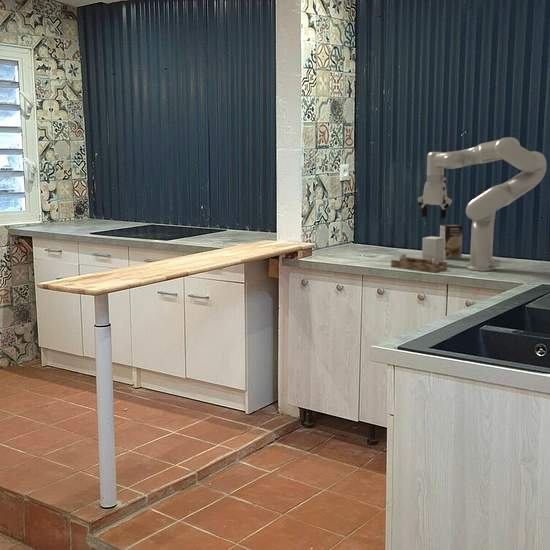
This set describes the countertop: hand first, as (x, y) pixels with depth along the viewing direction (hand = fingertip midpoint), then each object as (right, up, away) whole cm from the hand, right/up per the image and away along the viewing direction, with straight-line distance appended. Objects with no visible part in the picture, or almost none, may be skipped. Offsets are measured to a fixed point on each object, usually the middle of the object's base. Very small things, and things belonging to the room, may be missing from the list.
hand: (433, 217), depth 357 cm
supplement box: (0, -22, +4) cm, 22 cm away
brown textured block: (-8, -23, -5) cm, 25 cm away
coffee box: (+12, -18, +21) cm, 30 cm away
